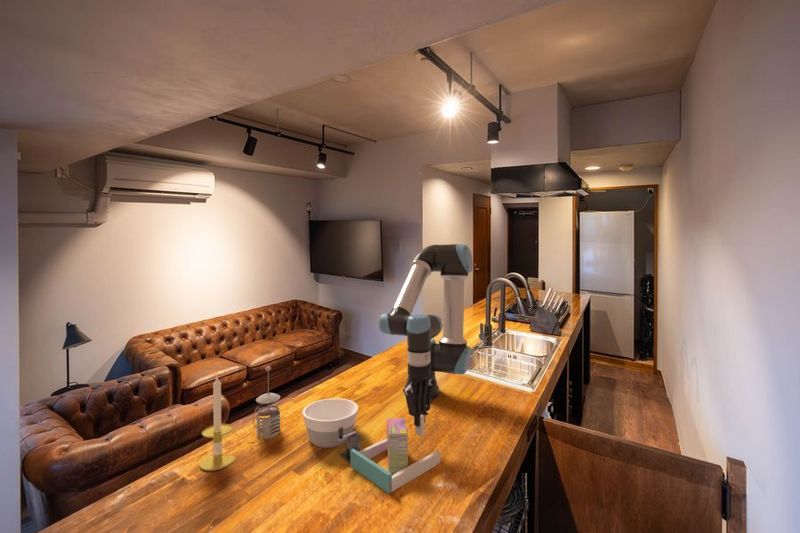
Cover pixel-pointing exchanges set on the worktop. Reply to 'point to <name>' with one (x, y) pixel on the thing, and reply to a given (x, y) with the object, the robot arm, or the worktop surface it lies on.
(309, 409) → the bowl
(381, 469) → the bay
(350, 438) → the winch
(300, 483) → the worktop surface
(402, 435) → the box
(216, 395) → the candle
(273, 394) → the french press
